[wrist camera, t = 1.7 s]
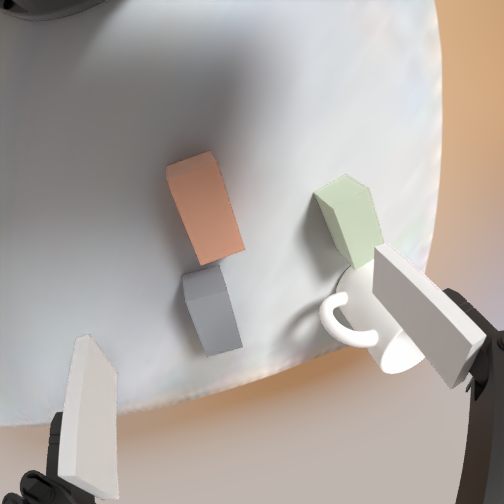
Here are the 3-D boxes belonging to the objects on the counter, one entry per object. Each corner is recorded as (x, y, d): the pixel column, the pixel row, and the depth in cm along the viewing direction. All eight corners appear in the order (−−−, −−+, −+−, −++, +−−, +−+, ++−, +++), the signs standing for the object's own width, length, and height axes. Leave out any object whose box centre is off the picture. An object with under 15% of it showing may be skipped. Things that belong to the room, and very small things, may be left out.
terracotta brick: (166, 165, 23) (166, 180, 20) (209, 150, 23) (217, 162, 20) (195, 240, 27) (200, 265, 24) (234, 226, 27) (245, 249, 24)
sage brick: (312, 191, 27) (333, 209, 24) (345, 173, 27) (369, 188, 24) (336, 249, 31) (355, 270, 28) (364, 231, 31) (386, 251, 28)
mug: (295, 319, 35) (334, 391, 26) (310, 254, 31) (363, 324, 22) (382, 306, 38) (427, 363, 29) (402, 249, 34) (461, 302, 25)
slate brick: (181, 274, 28) (185, 302, 25) (219, 264, 29) (227, 290, 25) (201, 328, 32) (207, 356, 29) (233, 319, 33) (242, 346, 29)
